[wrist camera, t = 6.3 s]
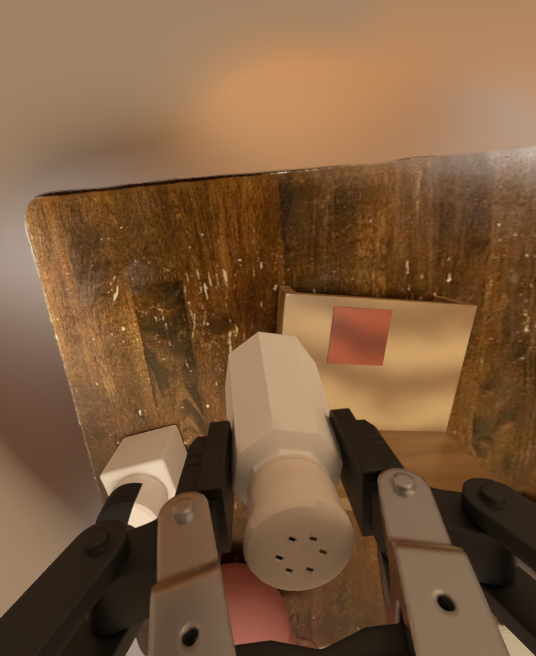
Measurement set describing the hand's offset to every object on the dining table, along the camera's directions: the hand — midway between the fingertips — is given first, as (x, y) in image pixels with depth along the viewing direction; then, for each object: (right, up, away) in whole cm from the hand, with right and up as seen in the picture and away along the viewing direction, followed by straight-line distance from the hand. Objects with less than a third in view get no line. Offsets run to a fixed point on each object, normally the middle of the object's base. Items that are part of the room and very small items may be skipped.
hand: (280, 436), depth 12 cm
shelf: (+10, +1, +27) cm, 29 cm away
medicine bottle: (-15, -12, +29) cm, 35 cm away
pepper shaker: (0, +2, +6) cm, 6 cm away
